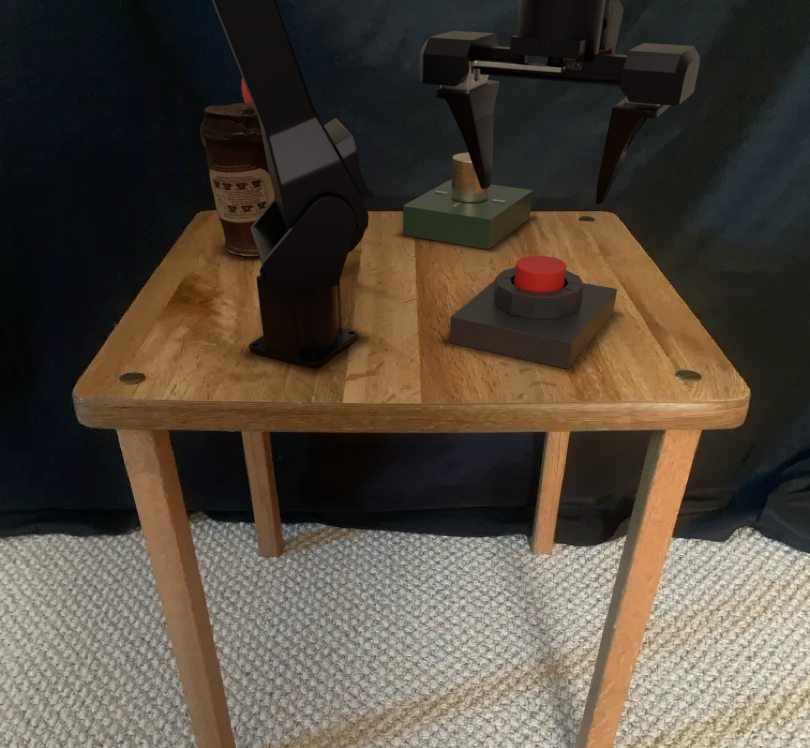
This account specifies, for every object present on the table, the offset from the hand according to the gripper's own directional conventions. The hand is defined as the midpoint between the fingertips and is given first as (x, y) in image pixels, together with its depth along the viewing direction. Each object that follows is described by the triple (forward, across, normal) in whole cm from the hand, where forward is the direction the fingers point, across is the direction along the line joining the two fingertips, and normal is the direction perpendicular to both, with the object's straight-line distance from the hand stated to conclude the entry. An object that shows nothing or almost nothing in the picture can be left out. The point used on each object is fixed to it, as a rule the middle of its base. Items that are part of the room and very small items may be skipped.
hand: (541, 195), depth 60 cm
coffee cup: (+10, +31, -5) cm, 33 cm away
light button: (+7, -1, +1) cm, 7 cm away
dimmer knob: (+7, +15, -21) cm, 27 cm away
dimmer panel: (+10, +14, -22) cm, 28 cm away
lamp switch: (+10, -1, +1) cm, 10 cm away
